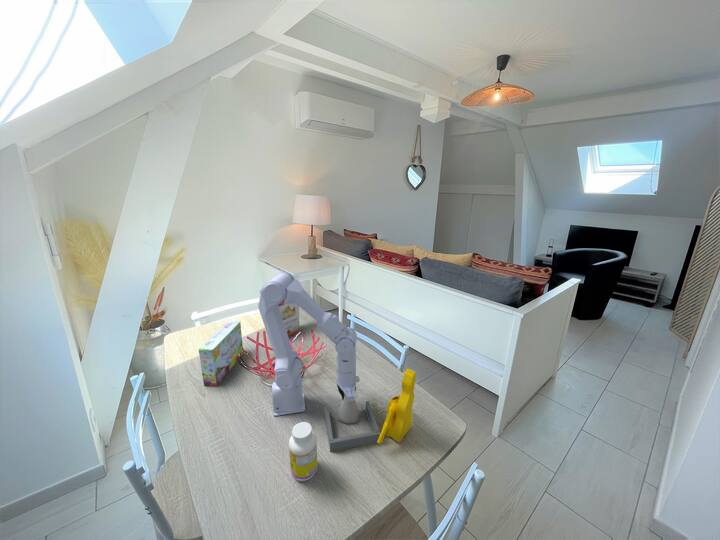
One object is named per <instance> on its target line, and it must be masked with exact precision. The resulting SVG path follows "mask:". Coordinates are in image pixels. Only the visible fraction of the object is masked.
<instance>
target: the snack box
mask: <svg viewBox="0 0 720 540" xmlns="http://www.w3.org/2000/svg"><path fill="white" fill-rule="evenodd" d="M241 328H242V325H241V321H234V320H228V321H227V322H226V323H224V325H223V326H221V328H219V330H217V332H215V333H214V334H213V335H211V337H210V338H209V339H208V340H207V341H206V342H205V343H204V344H202V346H200V347H199V348H198V355H199V362H200V368H201V374H202V382H203V386H211V387H218V385H219V384H220V383H221V382H222V380H223V379H224V378H225V377H226V375H228V373H230V371H231V369H232V368H233V367H234V365H236V363H237V361H239V359H240V358H241V356H243V354H244V350H243V351H242V348H243V349H244V346H243V337H242V336H243V335H242V329H241ZM238 353H239V354H240V357H239V356H238Z"/></svg>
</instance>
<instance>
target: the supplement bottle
mask: <svg viewBox="0 0 720 540" xmlns="http://www.w3.org/2000/svg"><path fill="white" fill-rule="evenodd" d="M291 430H292V431H291V436H290V438H289V441H288V450H289V451H288V452H289V462H290V463H289V464H290V473H291V475H292V477H293V478H294V479H295V480H296V481H298V482H305V481H308V480H310V479H312V477H314V475H316V472H317V471H318V446H317V444H318V443H317V442H318V441H317V435H316V434H315V432H314V431H313V427H312V425H311V424H310V423H309V422H306V421H300V422H298V423H296V424H295V425H294V426H293V428H292V429H291Z"/></svg>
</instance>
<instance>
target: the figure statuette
mask: <svg viewBox="0 0 720 540" xmlns="http://www.w3.org/2000/svg"><path fill="white" fill-rule="evenodd" d="M416 380H417V371H414V370H413V369H410V368H406V370H405V371H404V373H403V377H402V380H401V393H400V394H398V395H396V396H393V397H392V398H391V399H390V401H389V402H387V406H386V409H385V410H386V411H385V412H386V415H385V416H386V417H385V420H384V421H383V426H382V429H381V432H380V436H379V439H378V441H377V444H379V445H382V444H383V442H384V439H385V437H386V436H387V438H388V437H389V438H391V439H392V440H394V441H396V442H398V443H399V444H400V443H402V441H403V439H404V438H405V436H406V435H407V434H408V432H409V431H410V429H411V427H412V425H413V404H414V401H415V395H414V392H415V385H416Z"/></svg>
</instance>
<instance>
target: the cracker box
mask: <svg viewBox="0 0 720 540" xmlns="http://www.w3.org/2000/svg"><path fill="white" fill-rule="evenodd" d="M284 302H285V300H284V299H283V300H282V301H281V302H280V304H279V309H280V313H281V316H282V319H283V322H284V325H285V328H286V331H287V334H288V337H290V336H292V335H294V334H296V333H298V332H300V307H299V306H298V305H297V304H284Z"/></svg>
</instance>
